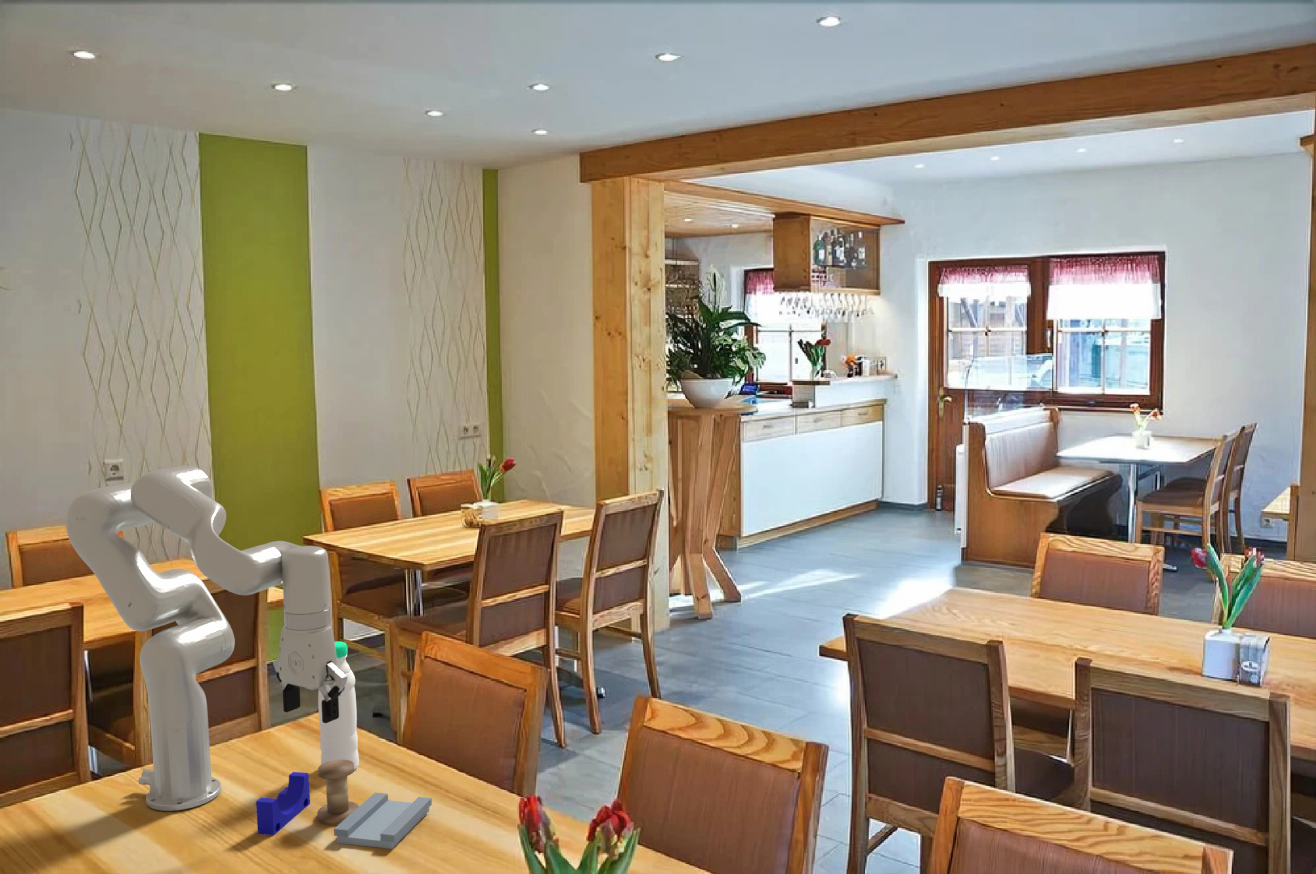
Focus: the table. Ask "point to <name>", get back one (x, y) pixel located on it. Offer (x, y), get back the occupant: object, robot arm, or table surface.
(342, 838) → the notched board
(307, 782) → the cable clip
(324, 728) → the water bottle
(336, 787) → the door knob
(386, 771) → the table surface
